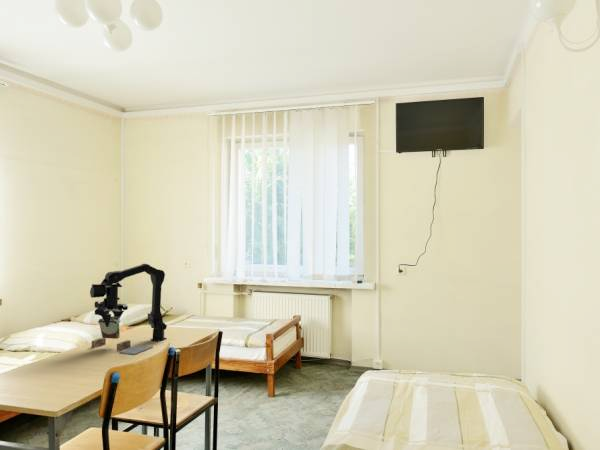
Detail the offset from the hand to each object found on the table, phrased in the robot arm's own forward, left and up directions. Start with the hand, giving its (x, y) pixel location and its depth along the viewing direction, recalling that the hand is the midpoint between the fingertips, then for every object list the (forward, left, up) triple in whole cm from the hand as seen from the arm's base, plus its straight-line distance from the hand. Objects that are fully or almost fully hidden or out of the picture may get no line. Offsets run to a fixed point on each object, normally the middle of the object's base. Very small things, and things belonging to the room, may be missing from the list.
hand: (111, 325), depth 239 cm
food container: (-1, +1, -6) cm, 6 cm away
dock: (0, 0, -11) cm, 11 cm away
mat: (0, +16, -11) cm, 20 cm away
